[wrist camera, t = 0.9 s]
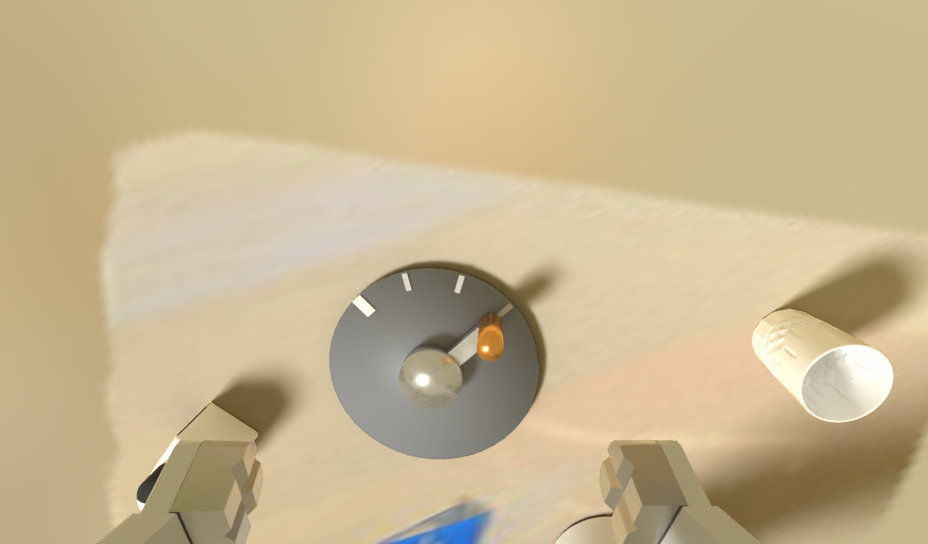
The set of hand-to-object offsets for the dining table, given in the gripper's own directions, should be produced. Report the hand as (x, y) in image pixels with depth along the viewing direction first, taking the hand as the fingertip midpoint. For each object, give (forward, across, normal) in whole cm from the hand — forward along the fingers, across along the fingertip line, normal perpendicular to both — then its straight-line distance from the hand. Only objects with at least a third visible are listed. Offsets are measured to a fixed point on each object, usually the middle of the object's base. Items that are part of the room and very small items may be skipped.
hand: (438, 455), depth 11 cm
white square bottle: (+34, -24, -44) cm, 61 cm away
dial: (+33, +4, -28) cm, 43 cm away
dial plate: (+34, +2, -31) cm, 46 cm away
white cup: (+31, +39, -23) cm, 55 cm away
